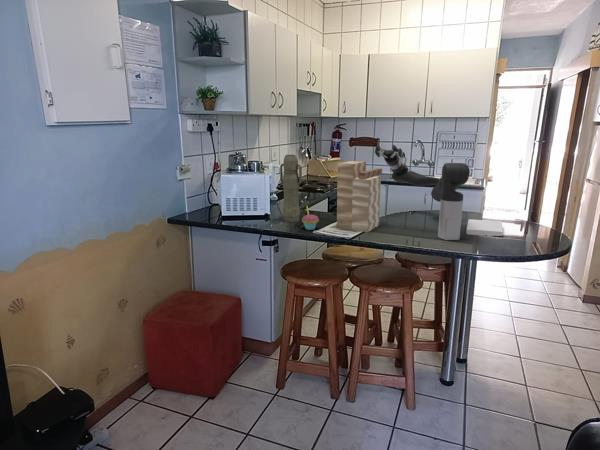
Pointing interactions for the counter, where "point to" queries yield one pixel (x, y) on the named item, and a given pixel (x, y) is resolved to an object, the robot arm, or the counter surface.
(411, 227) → the counter surface
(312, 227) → the cupcake
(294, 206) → the thermos
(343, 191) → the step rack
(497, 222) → the food packaging
